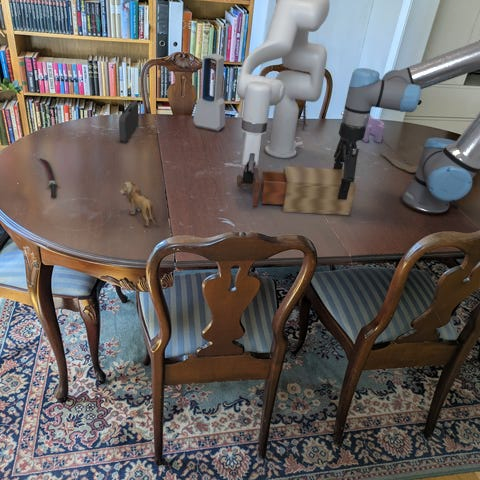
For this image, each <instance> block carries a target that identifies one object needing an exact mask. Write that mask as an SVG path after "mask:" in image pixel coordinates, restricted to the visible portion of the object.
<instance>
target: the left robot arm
mask: <svg viewBox="0 0 480 480" xmlns="http://www.w3.org/2000/svg"><path fill="white" fill-rule="evenodd" d="M330 3H331V2H330V0H275V7H274V9H273V13H272V16H271V19H270V22H269V27H268V30H267V33H266V36H265V39H264V42H263V43H262V44H260V45H259V46H257V47H256V48H254V49H253V50H251V52H250V53H249V54H248V55H247V57H246V58H245V59H244V61H243V63H242V66H241V69H240V71H239V75H238V78H237V82H236V94H237V96H238V98H240V99H241V100H243V108H242V119H241V125H240V126H241V129H240V130H241V132H243V136H242V144H241V150H240V151H241V152H240V164H241V166H244V169H243V173H242V177H243V180H242V181H243V183H249V184H253V178H254V168H257V167H258V165H259V159H260V155H261V148H262V140H263V135H265V134H267V131H268V123H269V115H270V108H271V107H272V106H274V107H273V114H272V115H273V116H272V124H271V130H270V138H269V144H266V146H265V147H264V148H265V149H264V151H265V153H266V154H267V155H269V156H272V157H273V158H274V157H275V158H278V159H289V158H293V157H295V156H296V155H297V150H296V148H297V147H302V146H303V145H304V144H303V141H296V140H295V139H296V133H297V127H298V121H297V120H299V119H298V118H299V117H298V116H299V113H300V110H299V109H300V108H299V106H298V105H299V104H298V103H297V100H299V101H303V102H304V101H306V102H310V103H316V102H317V101H319V99H320V98H321V95H322V93H323V86H324V80H325V74H326V67H327V61H328V52H327V48H326V47H325V46H324V45H322V44H320V43H319V44H318V43H313V42H309V33H310V32H311V33H315V32H317V31H318V30H319V29H320V28H321V27H322V25H323V24H324V23H325V21H326V20H327V18H328V15H329V13H330ZM278 59H281V63H282V65H283V66H284V68H288V69H290V70H281V71H280V72H278V74H277V75H276V77H275V78H273V77H268V76H263V75H257V74H253V73H254V71H255V70H256V69H257V68H258V67H259V66H260V65H263V64H265V63H268V62H271V61H274V60H278ZM295 70H300V71H295ZM304 72H305V73H304ZM307 72H308V74H307ZM296 99H297V100H296ZM295 100H296V101H295Z"/></svg>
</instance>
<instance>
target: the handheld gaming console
mask: <svg viewBox="0 0 480 480" xmlns="http://www.w3.org/2000/svg"><path fill="white" fill-rule="evenodd" d="M138 126H139V103H138V101H131V102H130V103H129V104H128V105H127V107H126V108H125V109H124V110H123V112H122V113H121V114H120V116H119V117H118V131H119V133H118V134H119V141H120V142H121V143H127V142H128V141H129V139H130V138H131V136H132V135H133V134H134V132H135V131H136V129H137V128H138Z"/></svg>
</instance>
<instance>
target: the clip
mask: <svg viewBox="0 0 480 480" xmlns="http://www.w3.org/2000/svg"><path fill="white" fill-rule="evenodd" d="M365 127H366V131H365V135H364V138H363V139H362V140H361V141H363V142H364V143H368V142H369V140H370V135H372V136H374V139H373V140H374V142H376V143H382V140H383V137H384V132H385V129H386V127H385V122H384V121H383V120H380V119H377V118H374V117H372V115H371V114H370V116H369V120H368V124H367V125H366V126H365Z"/></svg>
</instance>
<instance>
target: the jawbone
mask: <svg viewBox="0 0 480 480" xmlns="http://www.w3.org/2000/svg"><path fill="white" fill-rule="evenodd" d="M380 155H381V156H382V157H384V158H385V159H387V161H389V162H390V163H391V164H392V165H393V166H394V167H395V168H398V169H400V170H403V171H406V172H407V173H411V174H414V173H415V174H416V171H417V168H418V165H419V164H417V165H407V164H404V163H403V162H402V161H399V160H398V159H397V158H394V159H393V158H391V157H390V156H389V155H387V154H386V152H381V153H380Z"/></svg>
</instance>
